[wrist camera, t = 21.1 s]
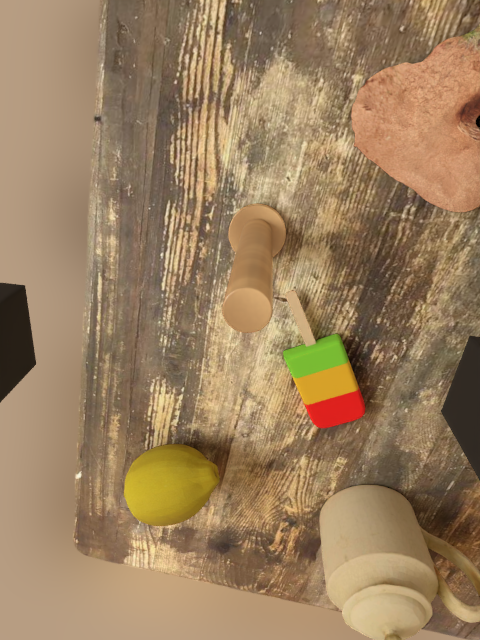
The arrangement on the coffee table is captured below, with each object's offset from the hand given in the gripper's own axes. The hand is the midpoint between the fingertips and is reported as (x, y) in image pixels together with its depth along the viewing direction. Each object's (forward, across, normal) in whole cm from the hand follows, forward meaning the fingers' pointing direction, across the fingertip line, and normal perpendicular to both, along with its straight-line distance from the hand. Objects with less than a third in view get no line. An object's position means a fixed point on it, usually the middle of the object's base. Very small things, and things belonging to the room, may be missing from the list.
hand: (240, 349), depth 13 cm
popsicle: (+25, +7, -14) cm, 29 cm away
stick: (+25, 0, -3) cm, 25 cm away
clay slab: (+25, +15, +7) cm, 30 cm away
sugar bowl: (+25, +18, -34) cm, 46 cm away
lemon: (+25, -6, -29) cm, 39 cm away
